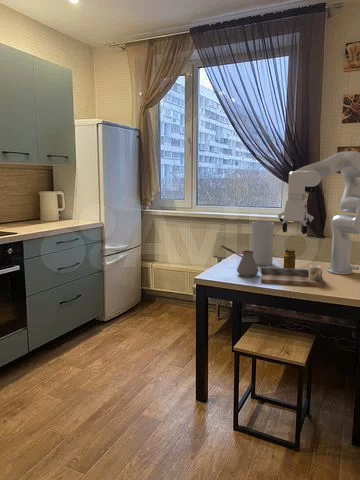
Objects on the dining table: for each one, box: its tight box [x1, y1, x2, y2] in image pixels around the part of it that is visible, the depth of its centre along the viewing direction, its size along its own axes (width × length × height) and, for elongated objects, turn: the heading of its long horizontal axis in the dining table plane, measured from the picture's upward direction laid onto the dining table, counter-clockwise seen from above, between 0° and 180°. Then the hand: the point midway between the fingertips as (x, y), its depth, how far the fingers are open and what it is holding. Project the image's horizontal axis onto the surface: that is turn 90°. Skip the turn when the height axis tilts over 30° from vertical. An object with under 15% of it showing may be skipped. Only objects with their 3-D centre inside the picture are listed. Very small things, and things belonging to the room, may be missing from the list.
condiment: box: [283, 248, 296, 269], centre depth 204 cm, size 7×8×12 cm
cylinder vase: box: [250, 220, 275, 267], centre depth 219 cm, size 12×12×25 cm
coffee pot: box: [219, 245, 259, 278], centre depth 198 cm, size 21×12×15 cm, turn 63°
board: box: [260, 266, 326, 288], centre depth 185 cm, size 30×12×5 cm, turn 77°
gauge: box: [308, 264, 322, 281], centre depth 181 cm, size 5×10×6 cm, turn 167°
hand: (294, 232), depth 178 cm, fingers open, 9 cm apart
